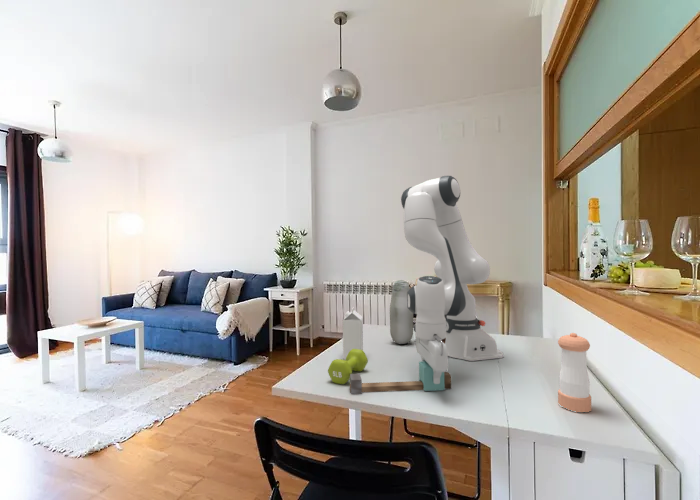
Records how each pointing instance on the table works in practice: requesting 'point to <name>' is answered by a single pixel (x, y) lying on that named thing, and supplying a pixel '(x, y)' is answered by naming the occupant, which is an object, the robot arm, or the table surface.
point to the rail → (390, 385)
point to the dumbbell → (347, 366)
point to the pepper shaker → (574, 374)
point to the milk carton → (352, 332)
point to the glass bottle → (400, 314)
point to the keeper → (429, 377)
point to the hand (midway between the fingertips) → (431, 377)
